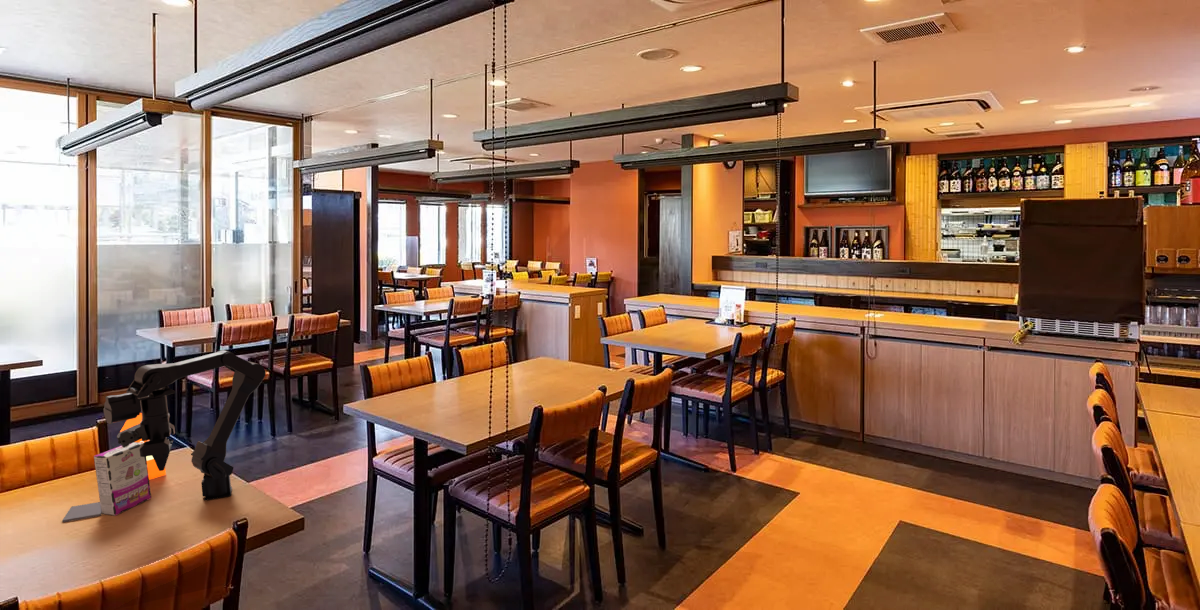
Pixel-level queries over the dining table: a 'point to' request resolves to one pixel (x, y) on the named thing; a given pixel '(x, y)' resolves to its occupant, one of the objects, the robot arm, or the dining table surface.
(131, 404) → the robot arm
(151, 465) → the orange juice
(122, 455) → the candy bar box
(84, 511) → the mat
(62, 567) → the dining table surface
